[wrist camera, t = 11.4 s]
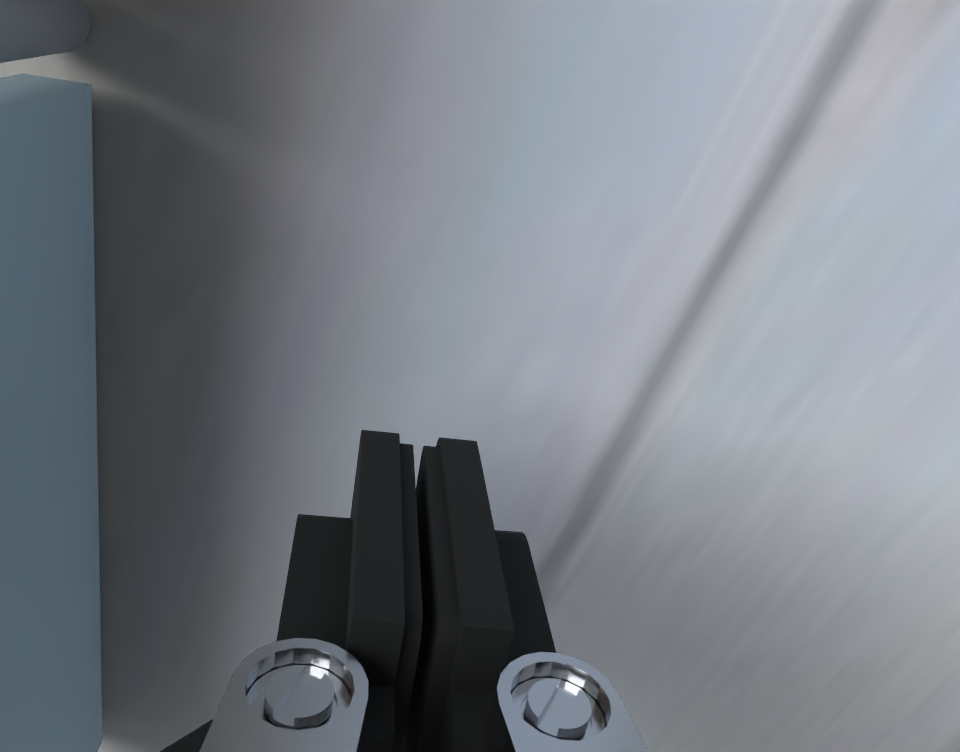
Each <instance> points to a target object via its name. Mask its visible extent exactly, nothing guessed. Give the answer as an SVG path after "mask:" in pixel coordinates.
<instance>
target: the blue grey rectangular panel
mask: <svg viewBox="0 0 960 752" xmlns="http://www.w3.org/2000/svg"><path fill="white" fill-rule="evenodd" d="M89 31H90V16H89V12H88V9H87V7H86V5H85V3H84V1H83V0H0V63H2V62H8V61H14V60H21V59H27V58H33V57H39V56H45V55H52V54H58V53H64V52H70V51H73V50H75V49H77V48H79V47H80V46H81V45H82V44H83V43H84V42H85V40H86V39H87V37H88V34H89ZM101 741H102V683H101V623H100V564H99V505H98V446H97V386H96V327H95V268H94V208H93V149H92V90H91V84H85V83H79V82H73V81H66V80H60V79H54V78H47V77H41V76H35V75H28V74H19V75H14V76H9V77H4V78H0V752H98V749H99V746H100V744H101Z"/></svg>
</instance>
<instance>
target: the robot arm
mask: <svg viewBox="0 0 960 752" xmlns="http://www.w3.org/2000/svg"><path fill="white" fill-rule="evenodd" d="M160 752H649V751H648V749H647V747H646V745H645V743H644V741H643V739H642V737H641V735H640V733H639V731H638V729H637V727H636V725H635V723H634V722H633V720H632V718H631V716H630V714H629V712H628V710H627V708H626V706H625V704H624V702H623V700H622V698H621V696H620V694H619V693H618V691H617V690H616V689H615V687H614V686H613V684H612V683H611V682H610V680H609V679H608V678H607V677H605V676H604V675H603V674H602V673H601V672H600V671H598V670H597V669H596V668H595V667H593V666H591V665H589V664H587V663H585V662H584V661H582V660H580V659H578V658H575V657H571V656H568V655H564V654H561V653H556V650H555V647H554V643H553V639H552V635H551V631H550V627H549V623H548V619H547V615H546V611H545V607H544V603H543V600H542V596H541V592H540V588H539V584H538V580H537V576H536V572H535V568H534V564H533V560H532V557H531V553H530V549H529V545H528V541H527V538H526V536H525V534H523V533H522V532H510V531H498V530H494V525H493V520H492V515H491V510H490V505H489V500H488V495H487V490H486V485H485V480H484V475H483V470H482V465H481V460H480V455H479V450H478V445H477V442H476V441H469V440H459V439H449V438H439V439H438V442H437V445H436V447H431V446H424V447H423V450H422V455H421V461H420V467H419V474H418V480H417V486H416V488H415V471H414V454H413V445H410V444H400V438H399V434H398V433H388V432H378V431H368V430H362V431H361V438H360V445H359V453H358V461H357V469H356V477H355V485H354V493H353V501H352V509H351V517H350V518H338V517H326V516H313V515H301V514H298V517H297V522H296V528H295V534H294V540H293V546H292V552H291V558H290V564H289V570H288V576H287V582H286V588H285V594H284V600H283V606H282V612H281V618H280V624H279V630H278V636H277V641H275V642H273V643H270V644H268V645H266V646H263V647H261V648H259V649H257V650H255V651H254V652H253V653H252V654H250V655H249V656H248V657H246V658H245V659H244V660H243V661H242V662H241V663H240V665H239V666H238V668H237V669H236V671H235V672H234V674H233V675H232V678H231V680H230V682H229V685H228V687H227V689H226V692H225V694H224V696H223V698H222V701H221V703H220V705H219V708H218V710H217V712H216V715H215V717H214V719H212V720H211V721H209V722H207V723H206V724H204V725H203V726H201V727H199V728H198V729H196V730H194V731H193V732H191V733H190V734H188V735H186V736H185V737H183V738H182V739H180V740H178V741H177V742H175V743H173V744H172V745H170V746H169V747H167V748H165V749H164V750H162V751H160Z"/></svg>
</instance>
